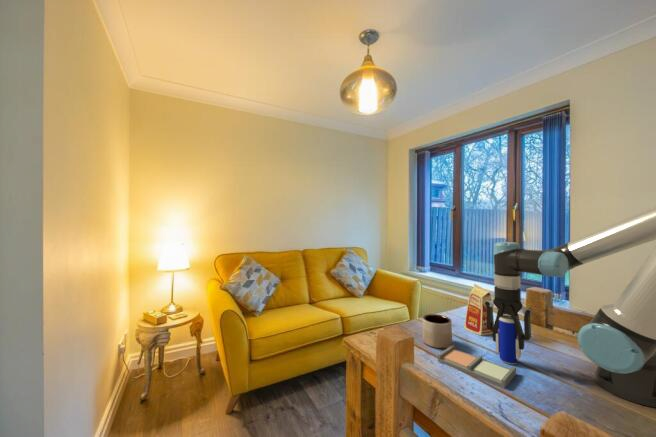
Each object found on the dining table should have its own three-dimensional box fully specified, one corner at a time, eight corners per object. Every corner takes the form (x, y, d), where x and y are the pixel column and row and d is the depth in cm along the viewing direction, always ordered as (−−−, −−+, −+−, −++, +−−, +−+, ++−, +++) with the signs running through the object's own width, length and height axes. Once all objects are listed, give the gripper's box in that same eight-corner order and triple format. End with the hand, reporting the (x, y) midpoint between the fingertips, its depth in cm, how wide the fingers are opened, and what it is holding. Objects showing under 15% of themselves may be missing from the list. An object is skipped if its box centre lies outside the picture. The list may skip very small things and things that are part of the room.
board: (516, 373, 84) (515, 366, 84) (504, 388, 77) (504, 380, 77) (452, 350, 99) (452, 344, 99) (437, 361, 92) (437, 354, 92)
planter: (446, 337, 111) (446, 314, 111) (456, 350, 100) (456, 324, 100) (419, 336, 112) (419, 313, 112) (426, 349, 101) (426, 323, 101)
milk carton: (464, 328, 119) (463, 284, 119) (477, 325, 123) (477, 281, 123) (483, 336, 111) (482, 288, 111) (497, 332, 114) (496, 286, 115)
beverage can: (520, 365, 88) (519, 320, 89) (503, 364, 89) (502, 319, 90) (513, 358, 93) (512, 315, 94) (497, 356, 95) (496, 314, 95)
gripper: (543, 290, 87) (544, 361, 87) (482, 280, 101) (483, 342, 101) (537, 294, 82) (538, 369, 82) (474, 284, 96) (475, 348, 96)
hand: (508, 354), depth 91 cm, fingers closed on beverage can, 5 cm apart
